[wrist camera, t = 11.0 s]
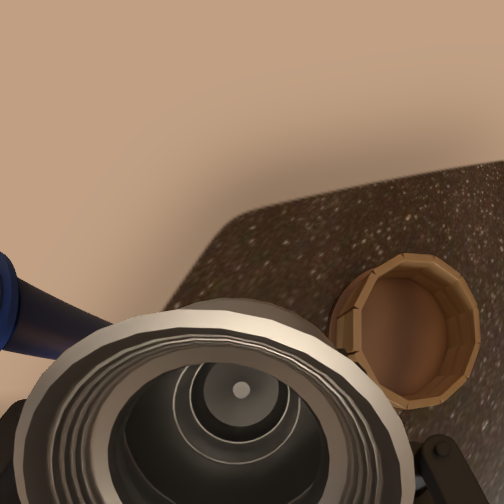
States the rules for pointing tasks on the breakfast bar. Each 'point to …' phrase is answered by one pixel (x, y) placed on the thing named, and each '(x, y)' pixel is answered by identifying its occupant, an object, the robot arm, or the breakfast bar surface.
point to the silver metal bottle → (210, 416)
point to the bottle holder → (409, 329)
